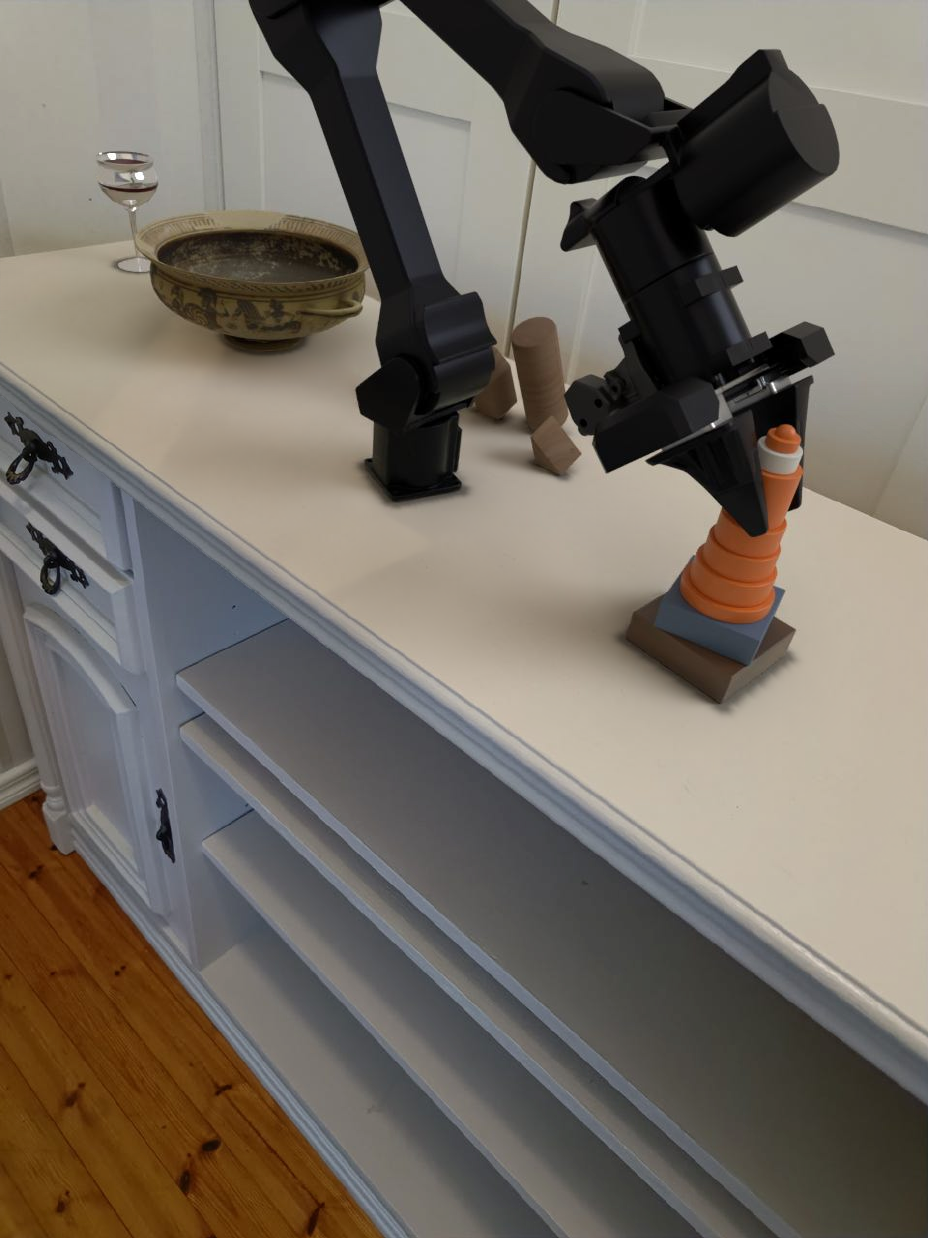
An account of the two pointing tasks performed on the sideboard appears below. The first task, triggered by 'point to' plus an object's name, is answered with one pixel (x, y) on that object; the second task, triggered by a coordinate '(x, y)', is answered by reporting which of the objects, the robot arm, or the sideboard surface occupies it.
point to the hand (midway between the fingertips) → (777, 521)
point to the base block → (706, 654)
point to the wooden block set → (534, 392)
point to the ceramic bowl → (256, 274)
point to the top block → (713, 626)
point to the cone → (747, 543)
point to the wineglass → (128, 189)
